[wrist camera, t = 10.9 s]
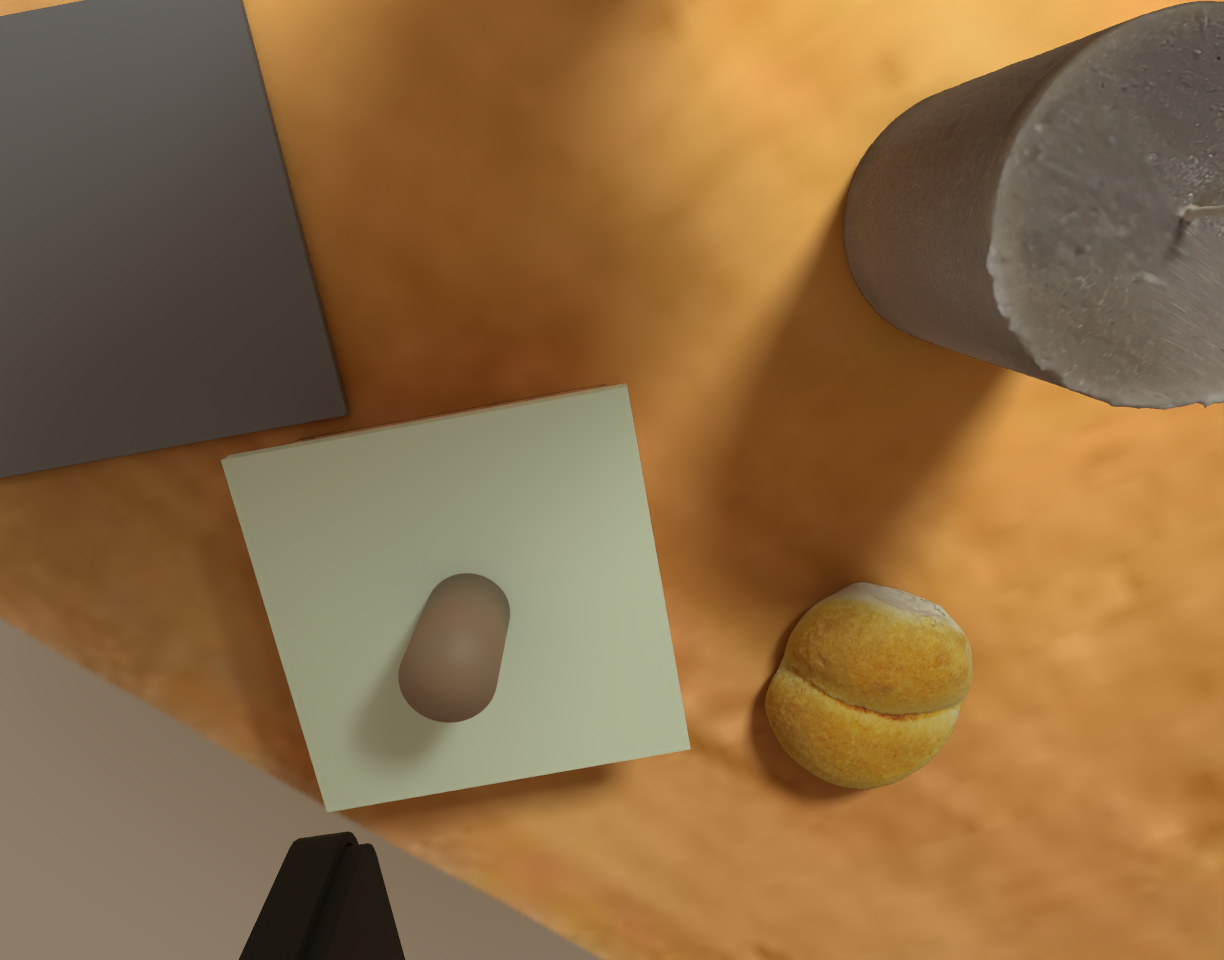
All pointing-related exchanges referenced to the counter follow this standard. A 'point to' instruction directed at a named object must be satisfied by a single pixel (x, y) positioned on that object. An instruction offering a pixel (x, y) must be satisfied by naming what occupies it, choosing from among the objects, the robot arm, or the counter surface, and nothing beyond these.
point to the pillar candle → (1063, 214)
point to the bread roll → (869, 686)
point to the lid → (465, 596)
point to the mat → (147, 238)
